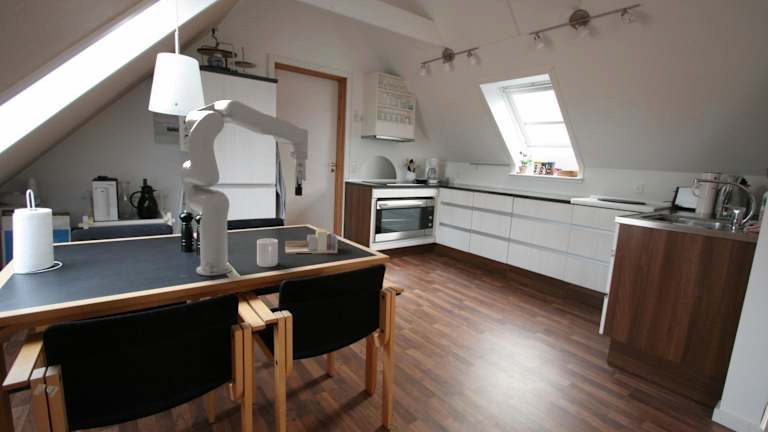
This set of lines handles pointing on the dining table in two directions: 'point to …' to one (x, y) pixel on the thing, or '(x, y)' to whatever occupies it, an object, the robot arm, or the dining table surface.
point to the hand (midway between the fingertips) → (298, 195)
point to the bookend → (312, 242)
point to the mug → (267, 252)
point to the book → (321, 239)
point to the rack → (301, 247)
